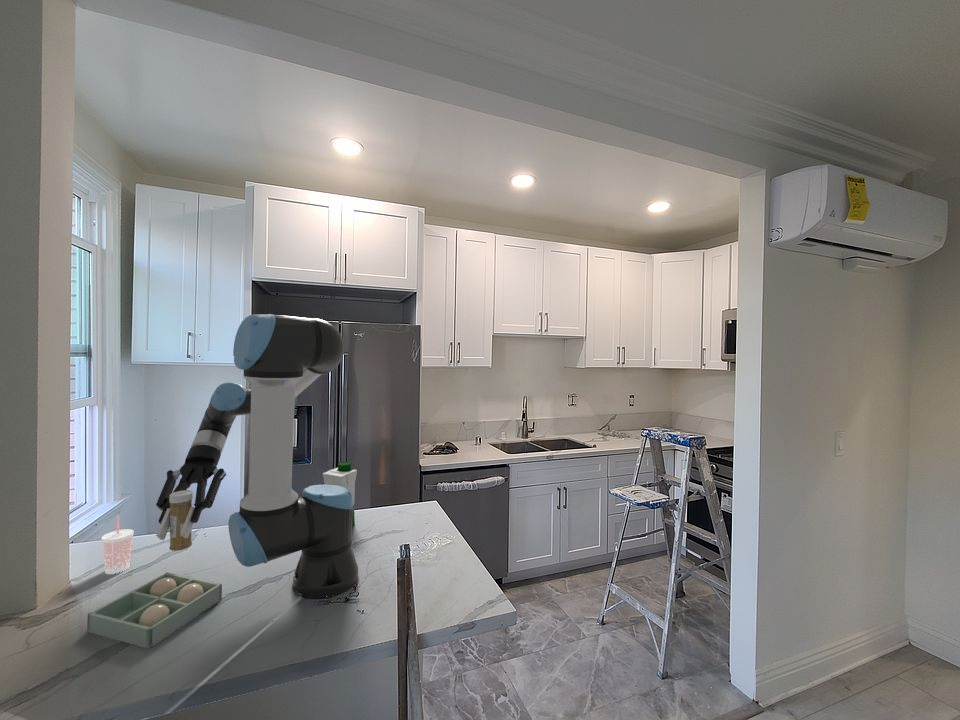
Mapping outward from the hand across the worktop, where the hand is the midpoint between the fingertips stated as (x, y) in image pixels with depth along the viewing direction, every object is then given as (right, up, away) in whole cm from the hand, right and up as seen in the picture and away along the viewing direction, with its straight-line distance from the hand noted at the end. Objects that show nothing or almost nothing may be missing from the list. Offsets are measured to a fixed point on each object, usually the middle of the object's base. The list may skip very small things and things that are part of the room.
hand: (172, 536), depth 96 cm
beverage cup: (-20, -12, +8) cm, 24 cm away
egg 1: (+2, -12, -5) cm, 13 cm away
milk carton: (+27, -13, +36) cm, 47 cm away
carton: (+5, -13, -10) cm, 17 cm away
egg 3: (+9, -12, -7) cm, 17 cm away
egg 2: (+8, -12, -15) cm, 21 cm away
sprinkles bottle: (-1, -4, +4) cm, 6 cm away
